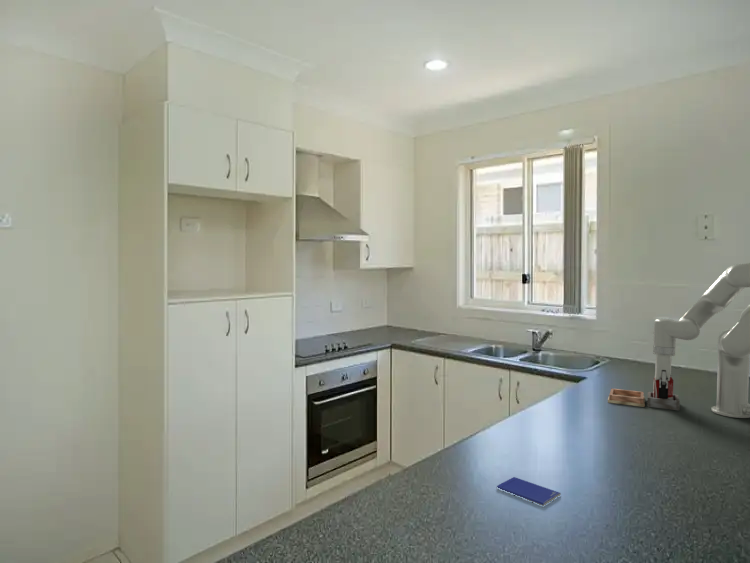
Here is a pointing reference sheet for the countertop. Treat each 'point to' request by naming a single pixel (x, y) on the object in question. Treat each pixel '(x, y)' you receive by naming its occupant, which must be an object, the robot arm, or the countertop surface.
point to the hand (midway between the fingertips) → (662, 395)
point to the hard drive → (529, 491)
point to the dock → (642, 399)
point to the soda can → (656, 388)
